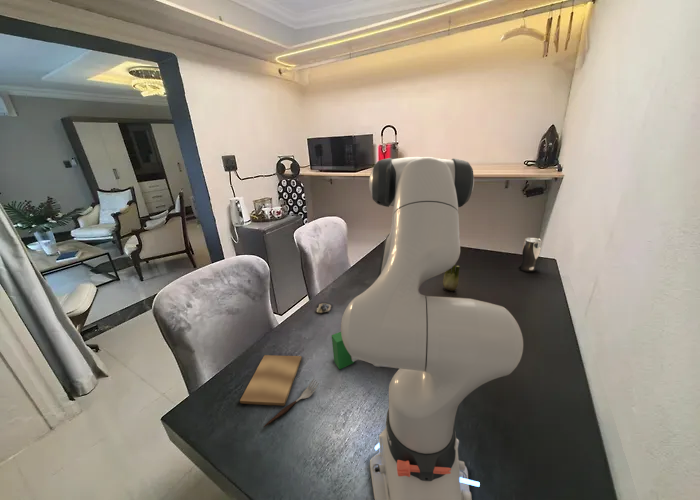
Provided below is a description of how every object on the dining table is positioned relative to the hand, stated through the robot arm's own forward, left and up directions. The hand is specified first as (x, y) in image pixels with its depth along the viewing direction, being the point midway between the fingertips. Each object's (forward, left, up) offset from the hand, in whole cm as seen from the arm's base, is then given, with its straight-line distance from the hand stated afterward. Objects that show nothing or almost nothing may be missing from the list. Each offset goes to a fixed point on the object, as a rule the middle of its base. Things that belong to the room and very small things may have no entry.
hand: (343, 347), depth 77 cm
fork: (-15, +12, -6) cm, 20 cm away
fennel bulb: (+27, -12, -2) cm, 29 cm away
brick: (0, 0, -6) cm, 6 cm away
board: (-7, +20, -6) cm, 22 cm away
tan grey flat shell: (+28, +12, -6) cm, 31 cm away
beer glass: (+61, -81, -5) cm, 102 cm away
